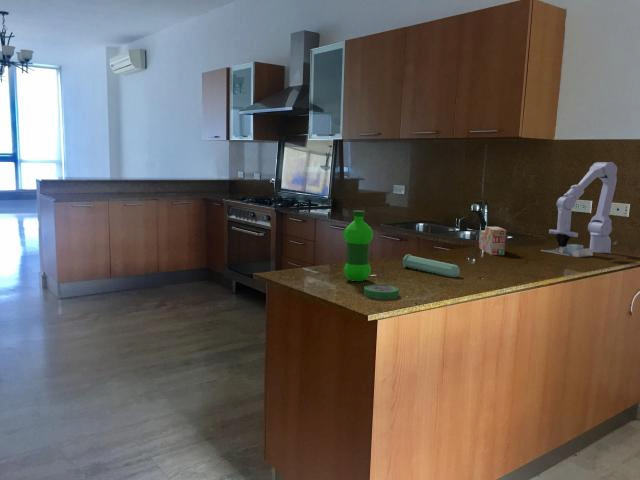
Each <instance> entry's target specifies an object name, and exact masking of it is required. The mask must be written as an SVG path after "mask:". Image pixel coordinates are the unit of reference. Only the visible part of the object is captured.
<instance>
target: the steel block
mask: <svg viewBox="0 0 640 480" xmlns="http://www.w3.org/2000/svg"><path fill="white" fill-rule="evenodd" d="M566 246H567V251H566V254H569V255H573V250H575V249H584V245H583V244H577V243H569V244H568V243H567V244H566Z"/></svg>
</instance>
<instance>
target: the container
mask: <svg viewBox="0 0 640 480" xmlns="http://www.w3.org/2000/svg"><path fill="white" fill-rule="evenodd" d="M402 266H403V267H404V268H405V267H408V269H413V270H416V269H417V270H418V271H421V270H422V271H421V272H425V271H426V272H425V273H430V272H431V273H430V274H434V273H435V274H436V275H440V276H444V277H450V278H457V277H459V275H460V267H459V266H458V265H457V264H454V263H453V264H452V263H448V262H442V261H438V260H434V259H429V258H428V259H427V258H423V257H419V256H414V255H412V254H409V253H408V254H405V255H404V257H403V258H402Z"/></svg>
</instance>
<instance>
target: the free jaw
mask: <svg viewBox="0 0 640 480" xmlns="http://www.w3.org/2000/svg"><path fill="white" fill-rule="evenodd" d="M558 249H559V253H563V254H565V253H566V251H567V245H566V246H563V247H559V246H558Z"/></svg>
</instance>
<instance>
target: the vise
mask: <svg viewBox="0 0 640 480" xmlns="http://www.w3.org/2000/svg"><path fill="white" fill-rule="evenodd" d="M540 252H544V253H551V254H554V255H555V254H557V255H561V256H566V257H574V258H584V257H593V256H594V255H593V254H594V252H593V249H590V248H589V247H588V248H583V249H575V250H573V255H569V254H566V253H565V254H563V253H559V247H556V248H555V249H546V250H544V249H540Z"/></svg>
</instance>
